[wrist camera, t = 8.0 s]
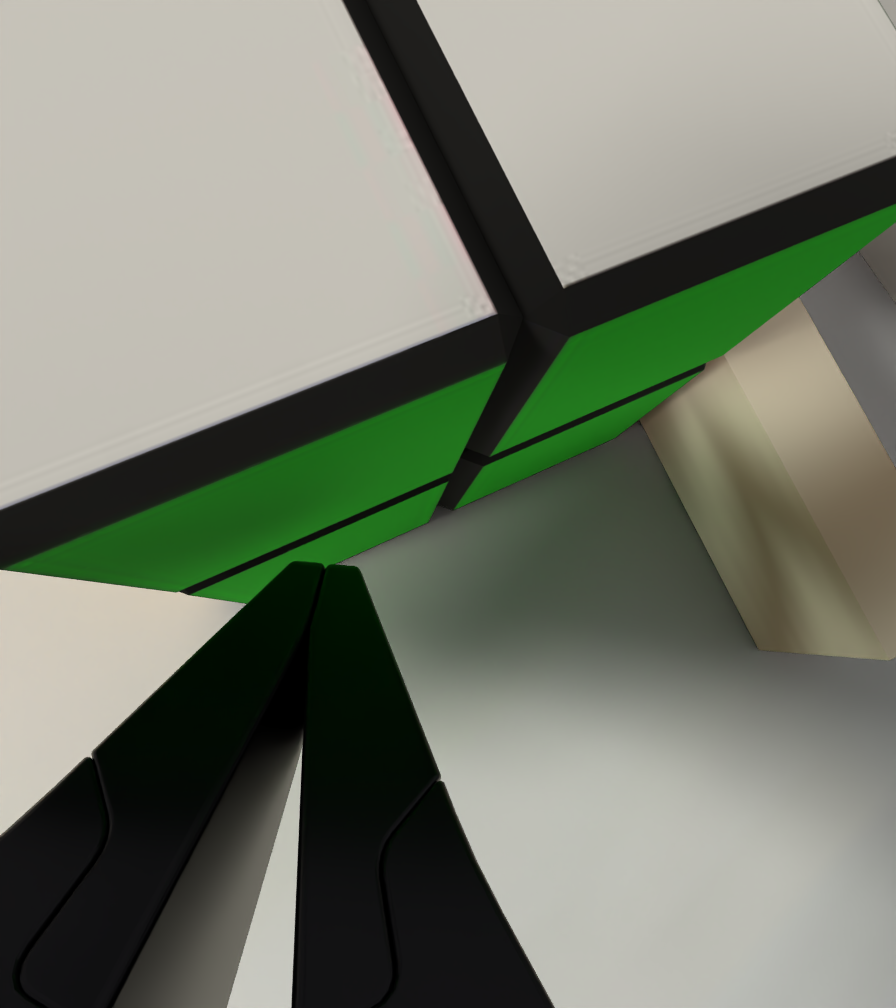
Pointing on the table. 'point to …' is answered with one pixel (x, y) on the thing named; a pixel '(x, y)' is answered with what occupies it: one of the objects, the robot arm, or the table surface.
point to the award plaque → (892, 250)
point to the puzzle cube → (390, 252)
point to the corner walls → (787, 491)
